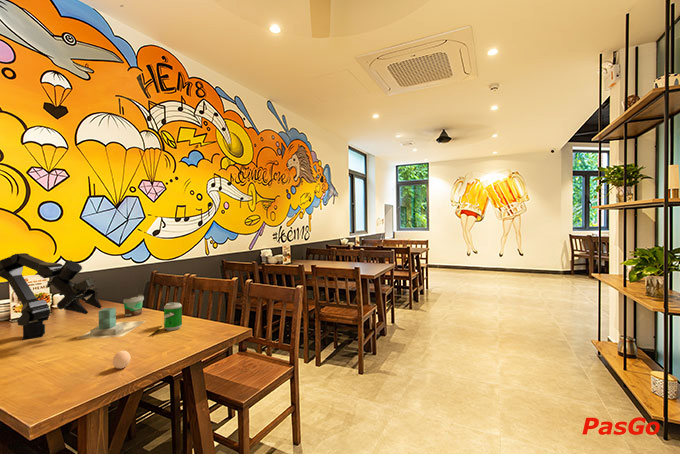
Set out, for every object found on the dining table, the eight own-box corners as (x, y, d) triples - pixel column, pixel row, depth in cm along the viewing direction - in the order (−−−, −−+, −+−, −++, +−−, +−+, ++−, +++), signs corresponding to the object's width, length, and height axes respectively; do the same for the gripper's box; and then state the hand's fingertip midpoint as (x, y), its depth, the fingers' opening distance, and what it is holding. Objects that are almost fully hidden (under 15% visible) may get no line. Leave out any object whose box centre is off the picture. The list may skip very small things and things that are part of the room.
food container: (134, 318, 165) (134, 299, 165) (123, 318, 165) (123, 299, 165) (149, 311, 177) (149, 294, 177) (138, 311, 178) (138, 294, 177)
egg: (132, 367, 107) (132, 350, 107) (114, 372, 103) (114, 355, 103) (128, 363, 110) (128, 346, 110) (111, 368, 106) (110, 351, 106)
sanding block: (90, 336, 134) (90, 311, 134) (99, 330, 140) (99, 307, 140) (115, 334, 135) (115, 310, 135) (123, 329, 141) (123, 306, 141)
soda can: (177, 325, 152) (177, 300, 152) (184, 328, 148) (184, 303, 148) (161, 329, 147) (161, 303, 147) (168, 332, 142) (167, 306, 142)
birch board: (75, 342, 130) (75, 338, 130) (107, 325, 152) (107, 322, 152) (121, 339, 133) (121, 336, 133) (146, 323, 155) (146, 320, 155)
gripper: (64, 276, 127) (94, 302, 128) (94, 270, 145) (119, 292, 147) (43, 296, 126) (73, 322, 127) (75, 287, 144) (102, 310, 146)
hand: (94, 310), depth 137 cm, fingers open, 9 cm apart
